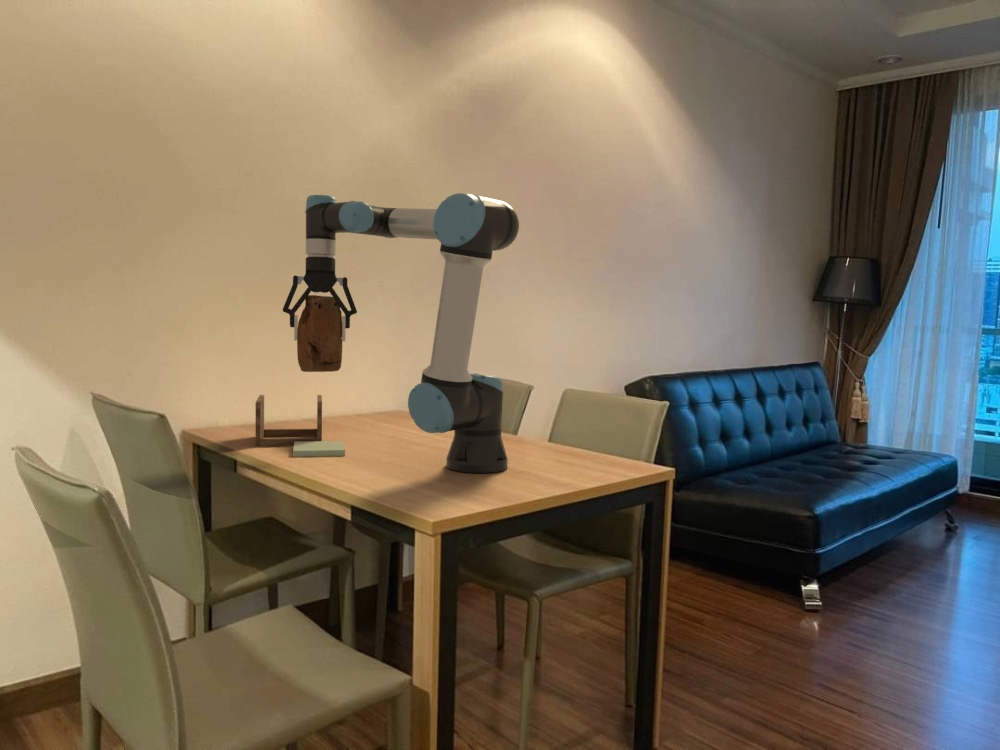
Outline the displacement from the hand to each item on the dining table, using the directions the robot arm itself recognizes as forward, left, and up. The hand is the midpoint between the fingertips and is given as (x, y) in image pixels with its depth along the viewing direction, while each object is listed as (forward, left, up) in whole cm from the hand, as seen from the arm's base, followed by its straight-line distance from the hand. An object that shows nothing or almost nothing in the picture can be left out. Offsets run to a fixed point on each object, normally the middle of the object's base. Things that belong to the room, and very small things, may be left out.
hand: (319, 340), depth 203 cm
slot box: (+16, +8, -29) cm, 34 cm away
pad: (0, 0, -29) cm, 29 cm away
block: (0, 0, -8) cm, 8 cm away
